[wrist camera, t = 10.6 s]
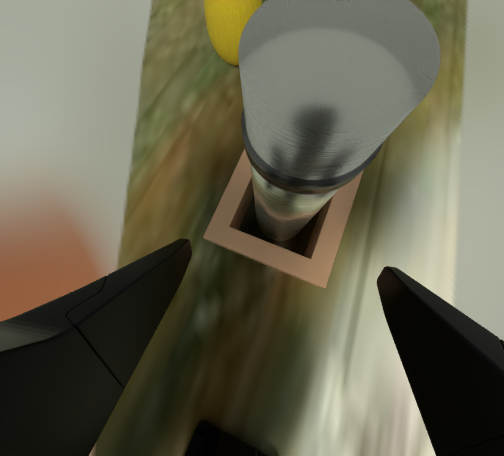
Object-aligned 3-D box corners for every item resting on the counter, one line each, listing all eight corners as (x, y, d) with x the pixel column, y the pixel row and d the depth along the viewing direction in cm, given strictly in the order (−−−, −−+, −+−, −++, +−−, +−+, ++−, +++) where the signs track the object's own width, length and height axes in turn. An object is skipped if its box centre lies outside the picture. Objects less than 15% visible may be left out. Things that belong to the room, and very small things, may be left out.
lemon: (267, 79, 22) (269, -29, 14) (219, 88, 22) (194, -14, 14) (260, 43, 23) (257, -75, 15) (214, 51, 23) (189, -61, 15)
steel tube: (295, 249, 17) (421, 168, 4) (247, 231, 18) (197, 100, 4) (312, 203, 18) (466, -5, 4) (265, 187, 19) (274, -40, 5)
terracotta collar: (312, 284, 16) (325, 288, 13) (214, 244, 18) (202, 237, 14) (344, 189, 18) (363, 170, 15) (253, 158, 19) (250, 135, 16)
